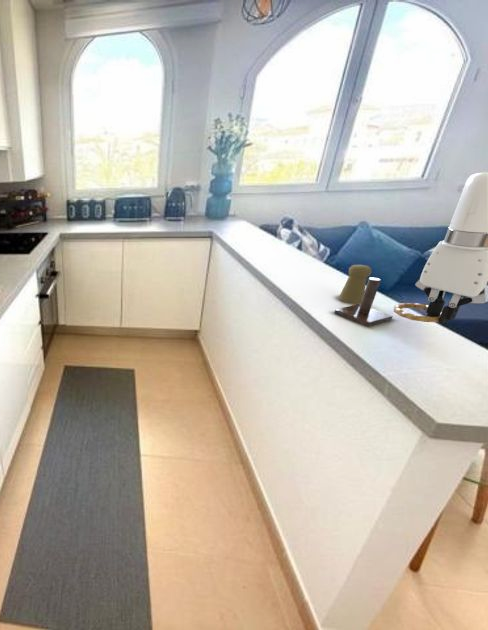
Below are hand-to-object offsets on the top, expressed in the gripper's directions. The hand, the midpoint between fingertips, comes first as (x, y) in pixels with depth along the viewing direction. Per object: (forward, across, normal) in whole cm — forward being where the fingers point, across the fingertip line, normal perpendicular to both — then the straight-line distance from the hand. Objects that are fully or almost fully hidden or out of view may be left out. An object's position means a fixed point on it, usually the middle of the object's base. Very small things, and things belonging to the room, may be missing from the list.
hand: (438, 319), depth 77 cm
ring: (0, +4, 0) cm, 4 cm away
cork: (+8, +26, -12) cm, 30 cm away
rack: (+8, +17, -4) cm, 19 cm away
